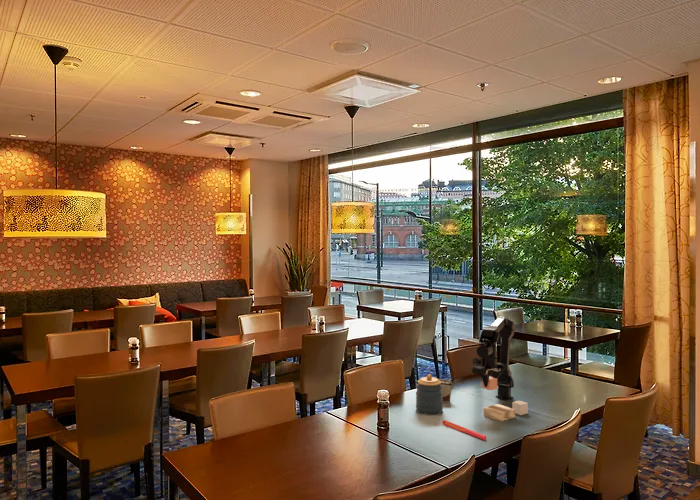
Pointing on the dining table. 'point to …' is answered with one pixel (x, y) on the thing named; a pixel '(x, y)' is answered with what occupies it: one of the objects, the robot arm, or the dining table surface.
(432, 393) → the canister
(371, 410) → the dining table surface
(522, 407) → the beige cube
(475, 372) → the robot arm
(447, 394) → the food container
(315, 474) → the dining table surface
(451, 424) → the chopstick
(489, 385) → the terracotta cube
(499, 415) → the birch base block
